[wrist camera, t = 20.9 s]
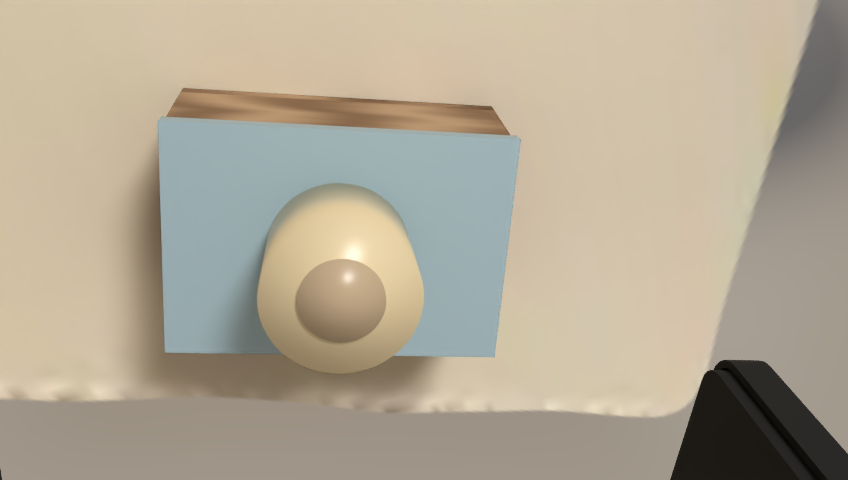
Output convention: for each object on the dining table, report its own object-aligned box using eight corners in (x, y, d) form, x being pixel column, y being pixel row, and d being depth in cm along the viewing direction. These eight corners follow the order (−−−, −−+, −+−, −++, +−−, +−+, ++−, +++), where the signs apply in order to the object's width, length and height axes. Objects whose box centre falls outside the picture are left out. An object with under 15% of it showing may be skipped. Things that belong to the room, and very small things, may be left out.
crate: (190, 280, 41) (173, 333, 36) (183, 88, 36) (163, 121, 32) (467, 287, 43) (484, 338, 38) (491, 106, 38) (513, 140, 34)
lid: (168, 344, 35) (164, 352, 34) (161, 116, 31) (157, 120, 31) (490, 349, 37) (494, 357, 36) (516, 135, 33) (520, 139, 33)
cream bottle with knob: (265, 315, 34) (255, 375, 29) (267, 179, 32) (257, 219, 27) (404, 318, 35) (418, 377, 30) (414, 186, 33) (431, 226, 28)
